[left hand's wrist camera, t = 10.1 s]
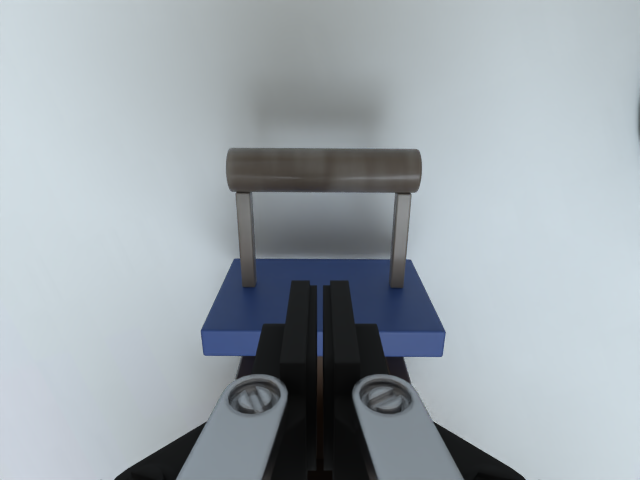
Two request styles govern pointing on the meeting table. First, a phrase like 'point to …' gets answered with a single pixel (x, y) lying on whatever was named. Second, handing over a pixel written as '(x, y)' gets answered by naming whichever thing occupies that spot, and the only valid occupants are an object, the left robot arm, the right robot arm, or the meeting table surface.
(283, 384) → the left robot arm
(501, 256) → the meeting table surface
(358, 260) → the drawer
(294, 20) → the meeting table surface
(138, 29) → the meeting table surface
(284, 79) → the meeting table surface
